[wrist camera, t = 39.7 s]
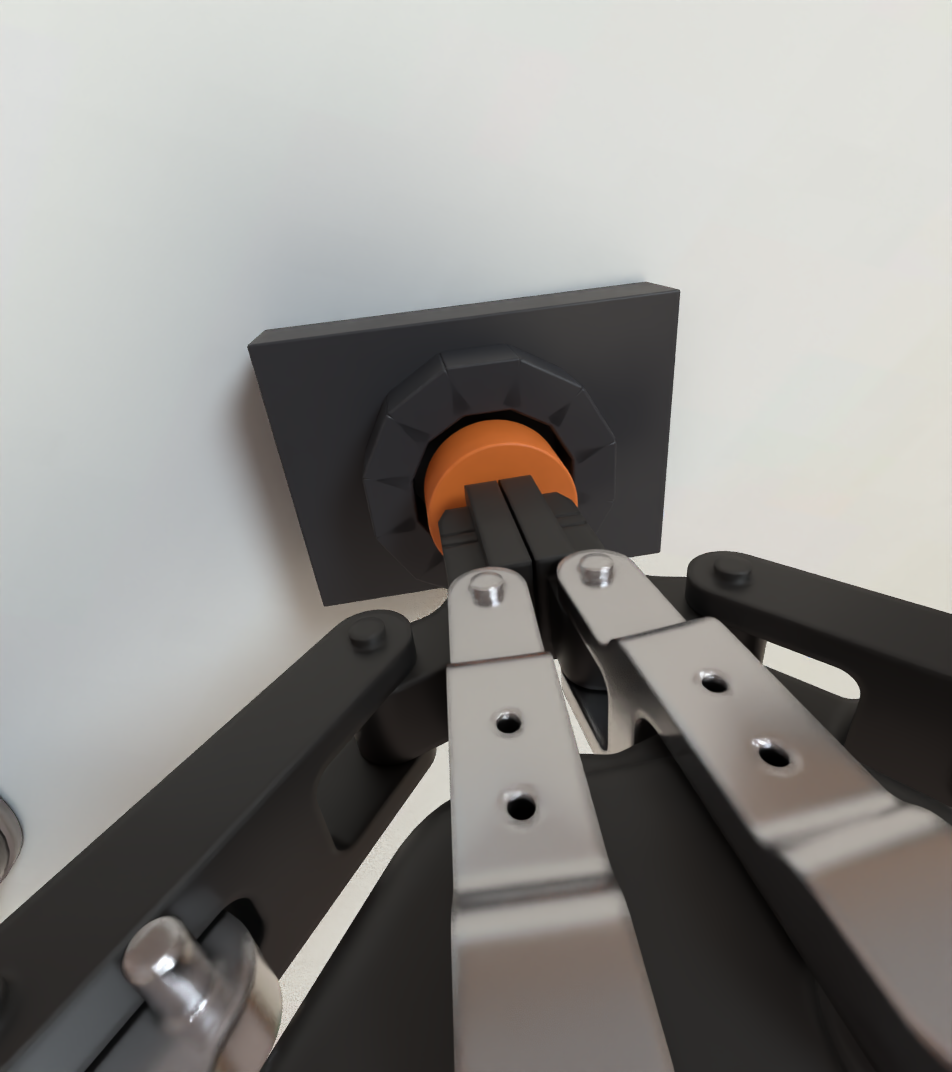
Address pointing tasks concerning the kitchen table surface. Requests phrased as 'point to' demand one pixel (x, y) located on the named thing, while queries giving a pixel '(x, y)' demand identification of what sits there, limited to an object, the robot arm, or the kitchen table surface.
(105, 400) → the kitchen table surface
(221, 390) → the kitchen table surface
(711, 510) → the kitchen table surface
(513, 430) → the button
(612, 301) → the control box
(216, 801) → the robot arm
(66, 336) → the kitchen table surface
